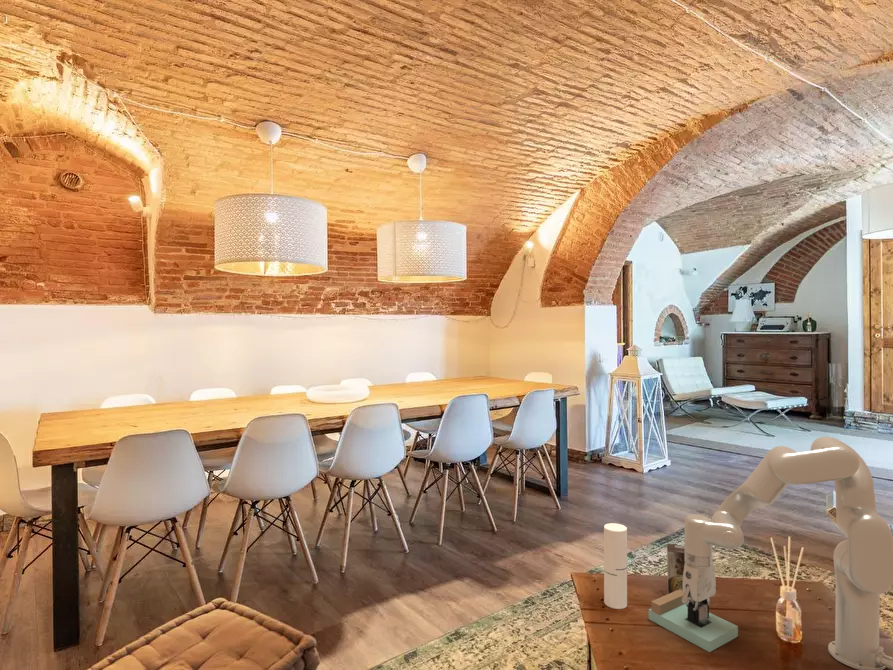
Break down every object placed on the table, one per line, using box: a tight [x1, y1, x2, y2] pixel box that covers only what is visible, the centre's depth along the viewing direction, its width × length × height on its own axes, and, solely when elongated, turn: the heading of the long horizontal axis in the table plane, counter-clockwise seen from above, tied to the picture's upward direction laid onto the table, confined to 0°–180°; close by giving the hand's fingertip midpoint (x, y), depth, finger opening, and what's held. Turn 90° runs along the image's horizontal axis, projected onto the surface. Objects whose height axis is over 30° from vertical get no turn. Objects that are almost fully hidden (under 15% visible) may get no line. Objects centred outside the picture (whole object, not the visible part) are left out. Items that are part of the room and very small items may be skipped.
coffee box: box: [666, 543, 693, 602], centre depth 181 cm, size 9×6×16 cm
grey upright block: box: [692, 601, 707, 628], centre depth 160 cm, size 4×4×8 cm
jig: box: [648, 589, 739, 653], centre depth 163 cm, size 20×14×6 cm
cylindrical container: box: [603, 522, 628, 610], centre depth 177 cm, size 7×7×25 cm
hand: (698, 618), depth 161 cm, fingers open, 4 cm apart
